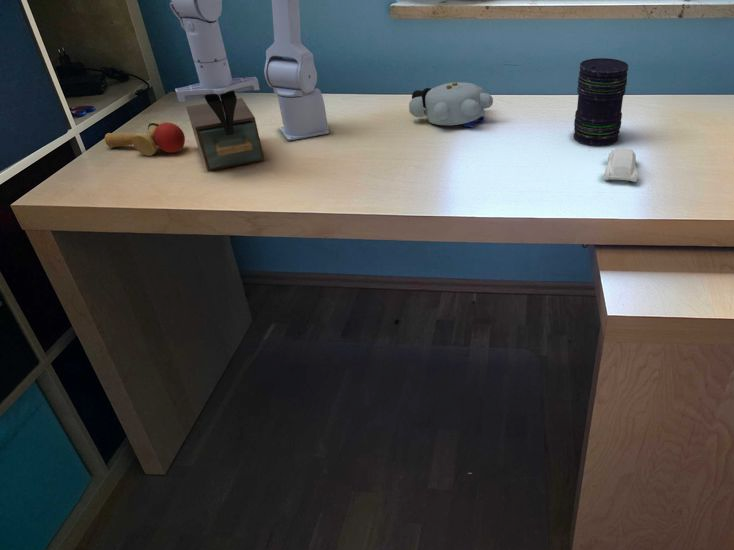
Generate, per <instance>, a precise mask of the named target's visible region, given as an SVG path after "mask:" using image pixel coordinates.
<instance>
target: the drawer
mask: <svg viewBox="0 0 734 550" xmlns="http://www.w3.org/2000/svg"><path fill="white" fill-rule="evenodd" d="M233 129H234V134H233V135H226V133H225V130H224V128H223V127H220V128H215V127H214V128H208V129H202V130H200V135H201V138H202V142H203V145H204V149H205V152H206V156H207V159H208V163H209V166H210V168H216V167H221V166H227V165H232V164H237V163H243V162H248V161H253V160H258V159H262V157H261V153H260V148H259V144H258V140H257V135H256V131H255V127H254V123H253V122H250V123H249V122H244V123H238V124H233Z"/></svg>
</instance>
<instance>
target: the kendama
mask: <svg viewBox="0 0 734 550" xmlns="http://www.w3.org/2000/svg"><path fill="white" fill-rule="evenodd" d="M185 142H186V136H185V133H184V131H183V130H182V129H181V127H180V126H178V125H177V124H175V123H173V122H161V121H159V120H152V121H151V122H149V123H148V125H147V132H146V133H144V132H137V133H132V132H130V133H129V132H126V133H125V132H123V133H121V132H119V133H117V132H115V133H114V132H107V133H106V134H105V136H104V143H105V144H106V145H107V147H109V148H112V149H113V148H117V147H123V146H131V145H133V147H134V148H135V150H136V151H138V153H140V154H141V155H143V156H147V157H150V156H153V155H154V154H155V153H156V152H157V151H158V148H159V149H161V150H162V151H163V152H166V153H177V152H179V151H181V150H183V148H184V146H185Z"/></svg>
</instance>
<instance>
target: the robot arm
mask: <svg viewBox="0 0 734 550" xmlns="http://www.w3.org/2000/svg"><path fill="white" fill-rule="evenodd" d="M169 7H170V9H171V11H172V13H173V14H174V16H175V17H176V18H177V19H178V20H179V22H180V26H181V28H182V30H183V31H185V35H186V38H187V41H188V45H189V48H190V52H191V55H192V60H193V63H194V66H195V70H196V75H197V77H198V81H199V82H197V83H194V84H190V85H187V86H182V87H177V88H175V89H174V90H175V93H176V97H177V100H178V102H179V103H185V102H186V101H189V100H191V101H192V100H196V99H202V98H203V99H205V102H206V103H208V105H209V106H210V107H211V108H212V110H213V111H214V112H215V114H216V115H217V117H218V118H219V120H220V121H221V123H222V125H223V128H224V130H225V133H226V135H233V134H234V129H233V119H234V111H235V106H236V103H237V99H238V98H237V95H236V93H240V92H247V91H260V90H261V89H260V84H259V80H258V78H257V77H256V76H249V77H235V78H234V77H232V73H231V68H230V65H229V61H228V57H227V52H226V48H225V44H224V40H223V36H222V32H221V28H220V23H219V20H218V19H219V18H220V17H221V15H222V11H223V0H170V3H169ZM271 11H272V25H273V40H274V42H273V43H272V44H271V45H269V47H268V48H267V49H266V51H265V58H266V59H265V63H264V67H263V68H264V69H263V70H264V71H263V74H264V78H265V82H266V83H267V85H268V86H269V87H270V88H272V89H273V93H274V94H276V96H277V100H278V106H279V111H280V116H281V120H282V125H283V126H281V127H279V131H280V132H281V133H282V135H283V136H284V138H285V139H286V141H295V140H301V139H305V138H311V137H318V136H323V135H327V134H330V129H329V125H328V117H327V112H326V105H325V100H324V97H323V94H322V92H321V89H320V88H317V87H316V86H317V82H318V72H317V69H316V66H315V61H314V54H313V53H312V52H311V51H310V50H309V49H308V48H307V47H305V45H304V44H303V43H302V36H301V16H300V14H301V13H300V0H271ZM315 87H316V88H315ZM221 101H222V102H221ZM223 109H224V110H223ZM224 112H225V114H224ZM225 117H226V119H225Z"/></svg>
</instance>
